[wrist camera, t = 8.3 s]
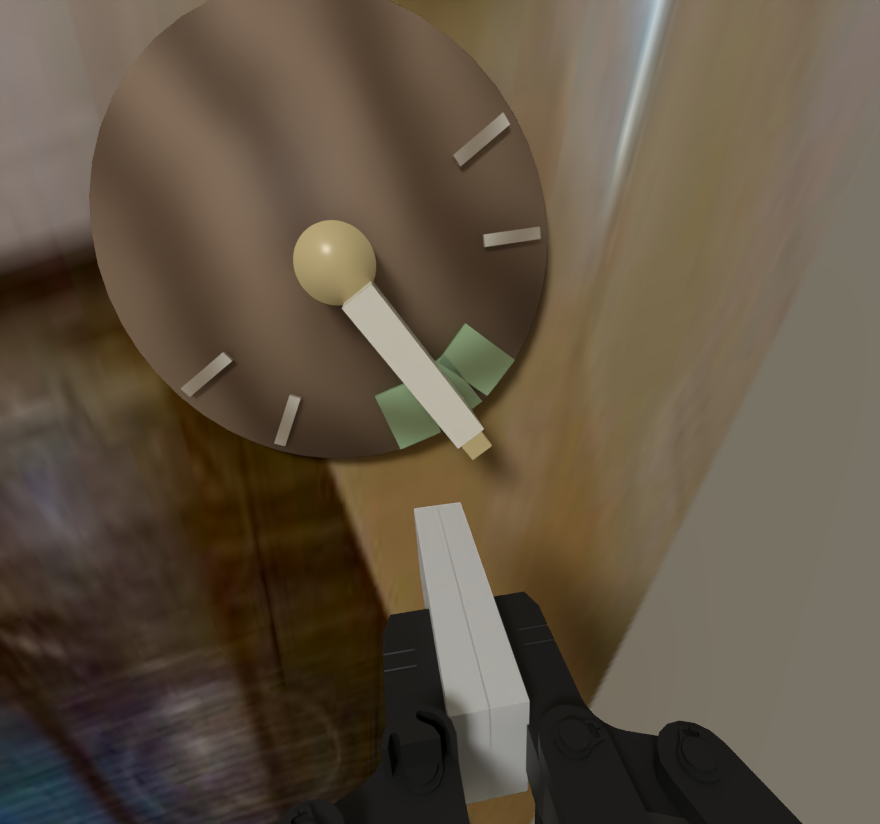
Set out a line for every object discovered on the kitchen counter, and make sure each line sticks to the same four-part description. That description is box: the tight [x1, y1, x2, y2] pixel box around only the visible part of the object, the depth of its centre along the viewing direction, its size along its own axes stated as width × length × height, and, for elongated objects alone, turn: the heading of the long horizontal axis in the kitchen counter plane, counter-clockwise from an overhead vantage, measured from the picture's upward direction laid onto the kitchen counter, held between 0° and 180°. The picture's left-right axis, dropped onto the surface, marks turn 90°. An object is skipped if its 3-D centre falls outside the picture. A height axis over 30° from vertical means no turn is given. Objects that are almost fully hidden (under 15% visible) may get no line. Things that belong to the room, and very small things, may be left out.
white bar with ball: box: [293, 220, 492, 460], centre depth 22 cm, size 13×4×4 cm, turn 36°
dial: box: [89, 0, 547, 458], centre depth 23 cm, size 22×22×2 cm
